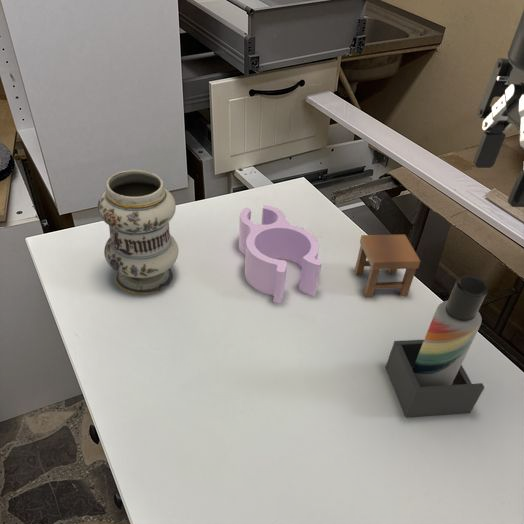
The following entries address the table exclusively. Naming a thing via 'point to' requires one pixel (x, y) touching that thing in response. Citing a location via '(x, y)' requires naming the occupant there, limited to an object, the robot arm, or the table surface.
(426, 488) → the table surface
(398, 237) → the stool
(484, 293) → the lotion bottle
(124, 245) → the apothecary jar
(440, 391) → the dark grey open box
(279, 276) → the clip
